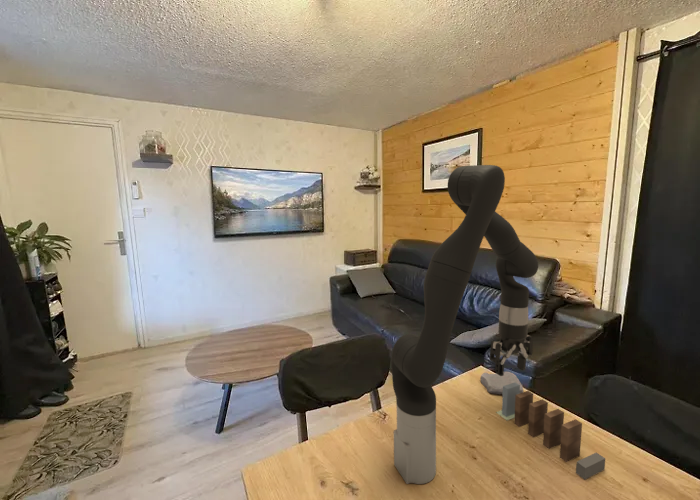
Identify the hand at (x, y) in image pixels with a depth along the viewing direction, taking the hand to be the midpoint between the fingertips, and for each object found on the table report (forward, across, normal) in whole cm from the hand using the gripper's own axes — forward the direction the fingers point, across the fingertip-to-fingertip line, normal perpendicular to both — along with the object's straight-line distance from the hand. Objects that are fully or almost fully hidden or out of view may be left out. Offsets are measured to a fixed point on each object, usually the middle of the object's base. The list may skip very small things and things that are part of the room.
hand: (510, 371), depth 94 cm
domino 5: (+14, 0, -18) cm, 23 cm away
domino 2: (+14, 0, -5) cm, 14 cm away
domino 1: (+13, 0, 0) cm, 13 cm away
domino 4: (+14, 0, -14) cm, 19 cm away
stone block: (+14, +9, +10) cm, 19 cm away
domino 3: (+14, 0, -9) cm, 16 cm away
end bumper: (+13, 0, -23) cm, 27 cm away
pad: (+13, 0, 0) cm, 13 cm away
